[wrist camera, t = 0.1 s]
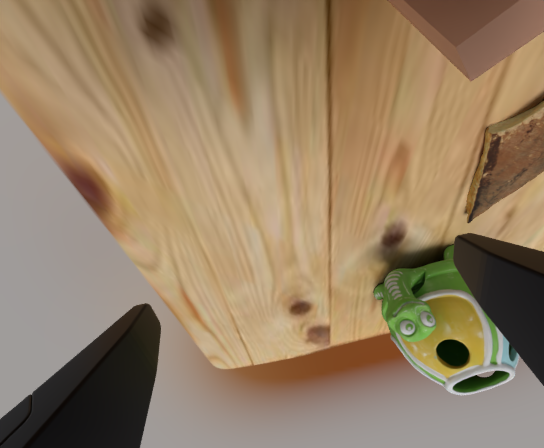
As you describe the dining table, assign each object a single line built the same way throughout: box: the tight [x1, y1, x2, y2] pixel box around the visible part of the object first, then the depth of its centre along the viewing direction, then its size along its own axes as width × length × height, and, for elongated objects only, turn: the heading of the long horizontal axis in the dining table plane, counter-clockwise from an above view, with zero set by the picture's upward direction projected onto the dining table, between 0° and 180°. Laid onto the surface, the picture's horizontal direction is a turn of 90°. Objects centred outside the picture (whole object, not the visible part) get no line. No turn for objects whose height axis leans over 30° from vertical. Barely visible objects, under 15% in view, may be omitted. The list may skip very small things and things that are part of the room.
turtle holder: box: [374, 245, 519, 395], centre depth 38 cm, size 12×18×12 cm
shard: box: [466, 101, 544, 223], centre depth 30 cm, size 11×8×2 cm
